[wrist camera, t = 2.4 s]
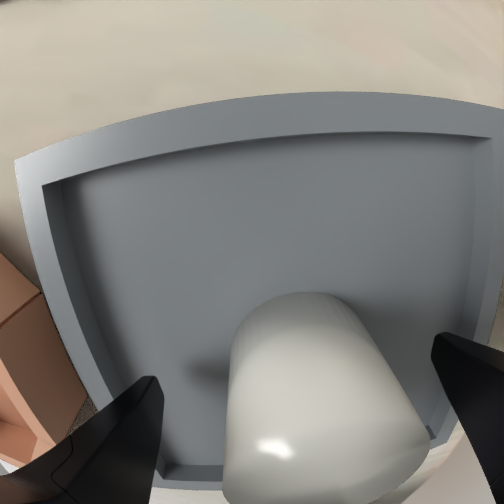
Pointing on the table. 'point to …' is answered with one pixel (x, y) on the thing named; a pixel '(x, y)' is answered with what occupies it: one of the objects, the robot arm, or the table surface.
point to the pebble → (314, 409)
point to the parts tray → (265, 243)
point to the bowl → (32, 373)
